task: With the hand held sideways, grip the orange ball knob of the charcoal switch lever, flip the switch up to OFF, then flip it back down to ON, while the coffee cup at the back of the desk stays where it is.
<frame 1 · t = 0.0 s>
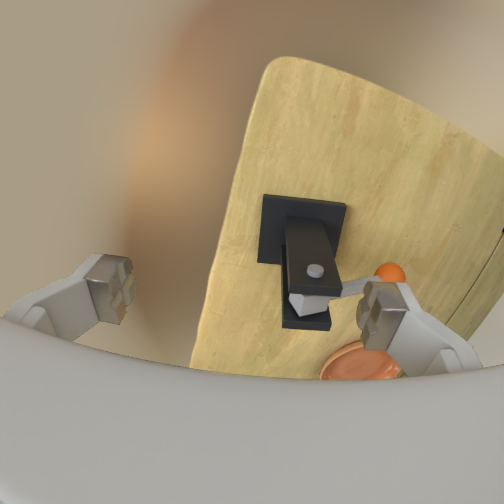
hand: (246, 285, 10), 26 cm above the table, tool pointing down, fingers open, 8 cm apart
lever: (355, 287, 28), point 11 cm above the table, hinge at -22.0°
saucer: (360, 361, 50), on the table
switch base: (299, 231, 37), on the table
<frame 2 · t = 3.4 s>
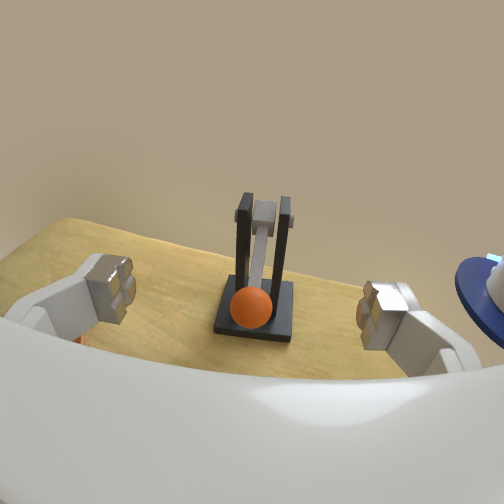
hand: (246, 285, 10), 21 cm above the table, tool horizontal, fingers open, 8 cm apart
lever: (258, 260, 28), point 11 cm above the table, hinge at -22.0°
switch base: (256, 309, 38), on the table
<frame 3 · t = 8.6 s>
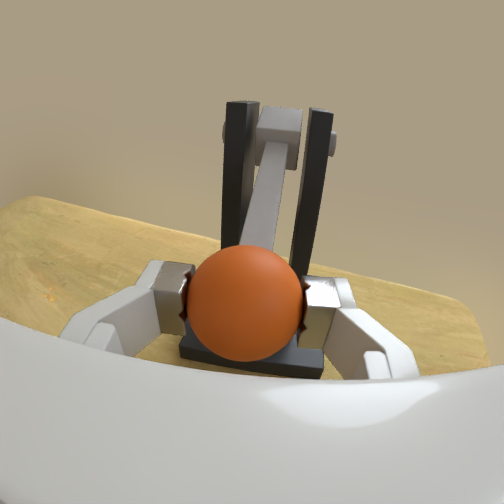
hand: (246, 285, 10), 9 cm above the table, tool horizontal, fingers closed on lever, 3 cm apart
lever: (266, 198, 12), point 11 cm above the table, hinge at -22.0°, touching gripper
switch base: (259, 318, 22), on the table
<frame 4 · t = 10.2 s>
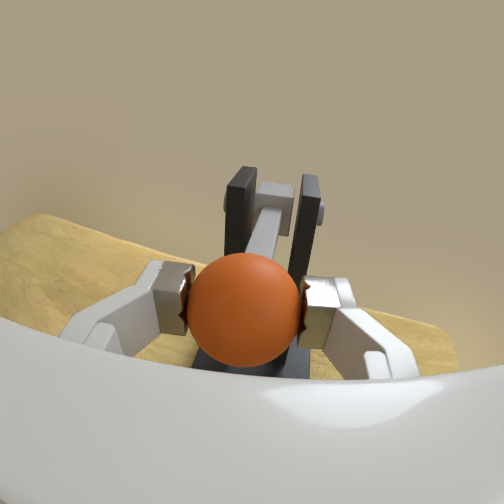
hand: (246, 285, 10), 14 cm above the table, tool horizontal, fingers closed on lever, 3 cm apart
lever: (263, 244, 13), point 13 cm above the table, hinge at 3.2°, touching gripper
switch base: (256, 349, 25), on the table
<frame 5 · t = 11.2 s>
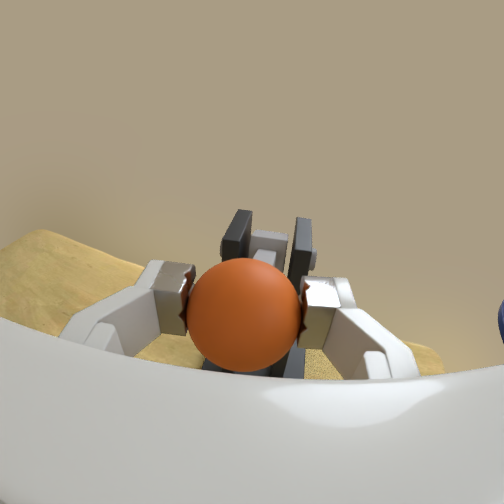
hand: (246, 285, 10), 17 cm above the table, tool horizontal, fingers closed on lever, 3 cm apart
lever: (259, 274, 14), point 15 cm above the table, hinge at 19.4°, touching gripper
switch base: (253, 373, 26), on the table
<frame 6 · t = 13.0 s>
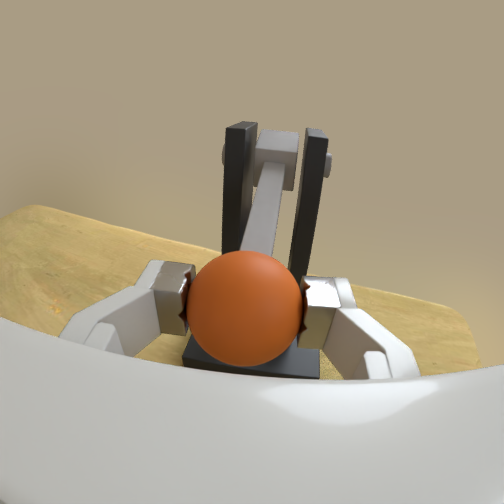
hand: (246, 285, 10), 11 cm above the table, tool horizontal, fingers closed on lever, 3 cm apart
lever: (265, 213, 12), point 12 cm above the table, hinge at -15.5°, touching gripper
switch base: (258, 329, 23), on the table
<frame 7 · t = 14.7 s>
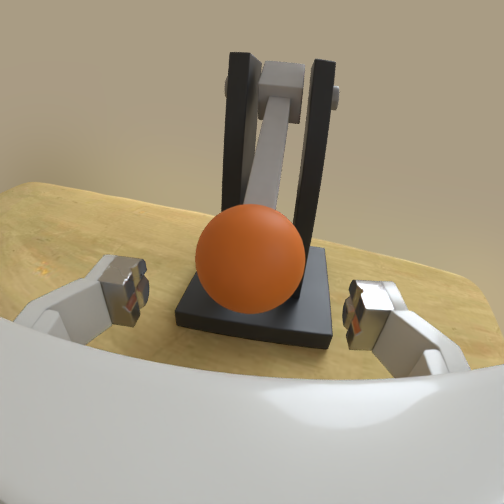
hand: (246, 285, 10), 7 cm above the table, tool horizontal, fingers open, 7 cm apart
lever: (269, 155, 12), point 10 cm above the table, hinge at -33.6°
switch base: (261, 288, 21), on the table
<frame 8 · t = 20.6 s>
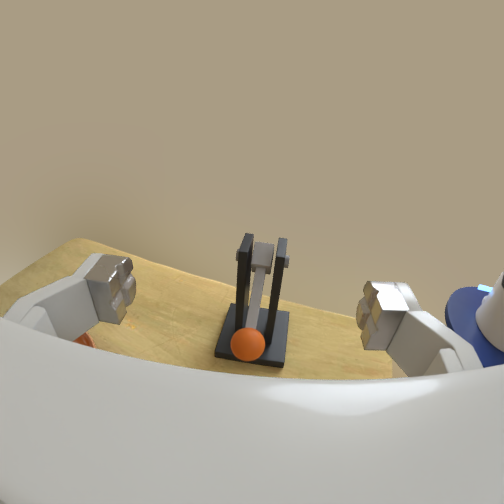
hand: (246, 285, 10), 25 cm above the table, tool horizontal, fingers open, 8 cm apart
lever: (255, 301, 32), point 10 cm above the table, hinge at -33.6°
switch base: (254, 336, 41), on the table
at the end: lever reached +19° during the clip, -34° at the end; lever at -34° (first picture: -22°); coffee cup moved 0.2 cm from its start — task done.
